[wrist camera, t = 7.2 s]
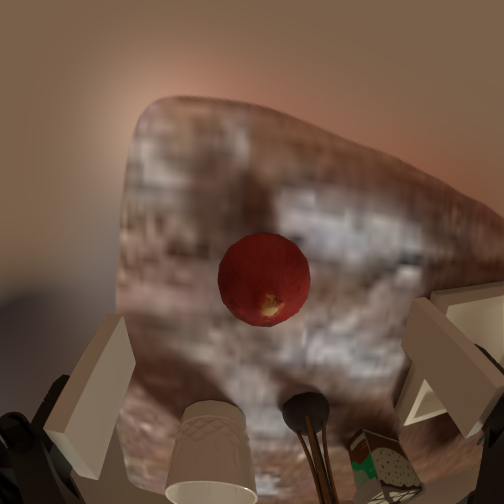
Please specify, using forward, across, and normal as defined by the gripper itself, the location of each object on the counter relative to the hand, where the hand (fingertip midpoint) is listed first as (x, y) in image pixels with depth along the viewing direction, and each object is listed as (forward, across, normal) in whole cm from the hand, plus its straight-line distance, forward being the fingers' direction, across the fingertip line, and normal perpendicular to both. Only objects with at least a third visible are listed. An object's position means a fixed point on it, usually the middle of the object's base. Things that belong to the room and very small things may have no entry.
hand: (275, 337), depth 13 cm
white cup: (+11, +5, +18) cm, 22 cm away
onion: (+11, 0, 0) cm, 11 cm away
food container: (+10, -14, +28) cm, 33 cm away
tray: (+10, -25, +12) cm, 30 cm away
